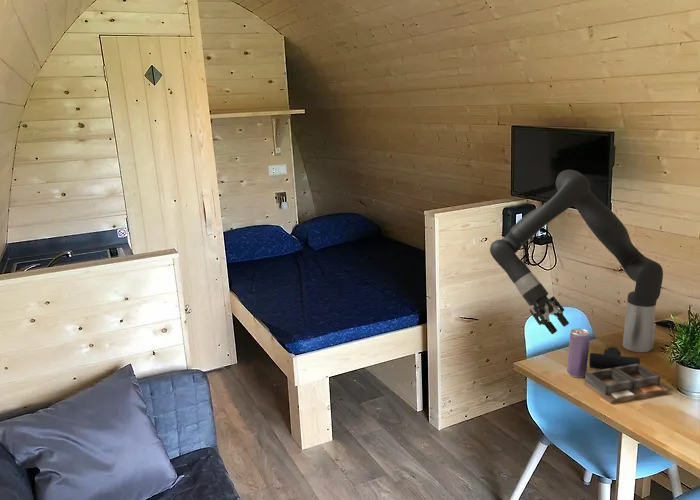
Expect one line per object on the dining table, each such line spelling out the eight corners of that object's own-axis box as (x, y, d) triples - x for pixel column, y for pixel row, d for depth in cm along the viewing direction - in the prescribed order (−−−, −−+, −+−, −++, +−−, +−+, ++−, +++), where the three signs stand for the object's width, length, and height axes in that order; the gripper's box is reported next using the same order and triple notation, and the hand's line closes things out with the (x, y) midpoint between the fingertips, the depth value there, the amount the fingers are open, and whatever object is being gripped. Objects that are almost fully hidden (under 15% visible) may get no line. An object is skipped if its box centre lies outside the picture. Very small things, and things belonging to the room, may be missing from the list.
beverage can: (584, 379, 189) (588, 336, 185) (565, 375, 192) (568, 333, 188) (587, 372, 194) (591, 330, 190) (569, 368, 197) (572, 327, 193)
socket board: (637, 374, 191) (638, 363, 190) (667, 393, 179) (669, 381, 178) (583, 384, 186) (584, 372, 185) (611, 404, 174) (612, 391, 173)
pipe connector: (589, 342, 205) (636, 346, 200) (587, 355, 206) (634, 360, 202) (591, 356, 194) (640, 361, 190) (589, 370, 196) (639, 376, 191)
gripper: (528, 288, 191) (559, 329, 186) (548, 278, 201) (578, 317, 196) (512, 299, 196) (542, 340, 191) (533, 289, 206) (562, 328, 201)
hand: (560, 328), depth 194 cm, fingers open, 8 cm apart
